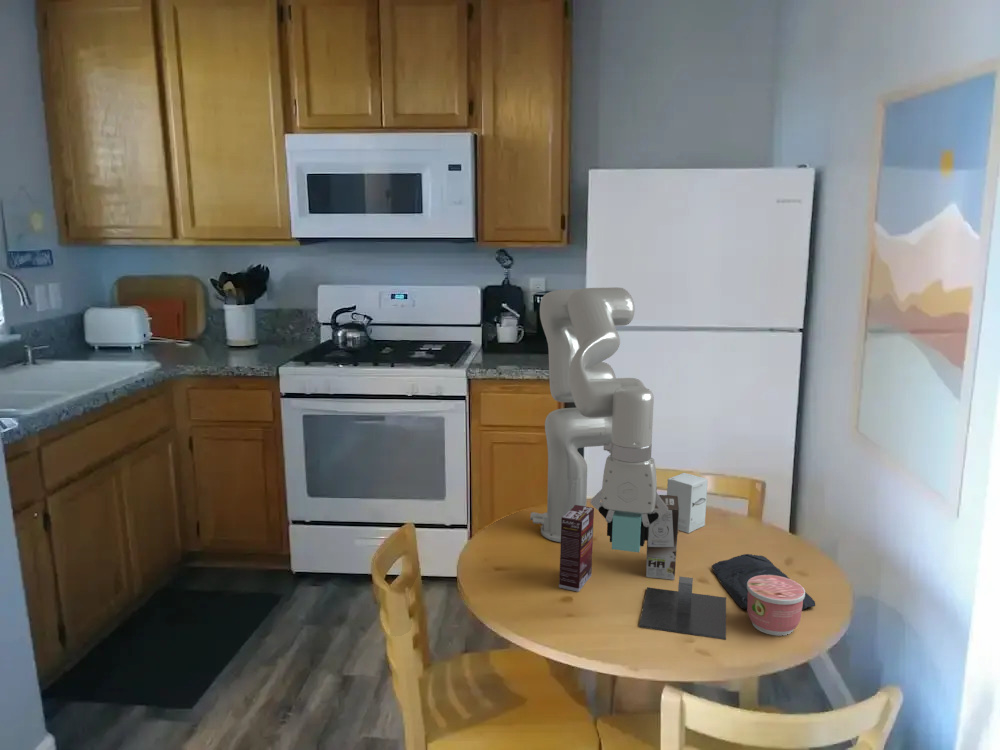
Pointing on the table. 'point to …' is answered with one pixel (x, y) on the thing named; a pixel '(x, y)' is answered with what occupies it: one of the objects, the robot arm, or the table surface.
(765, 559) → the dark fabric pouch
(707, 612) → the brushed steel sheet
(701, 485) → the supplement box
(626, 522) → the teal rectangular block
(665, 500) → the coffee box
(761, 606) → the container
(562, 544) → the supplement box
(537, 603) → the table surface
